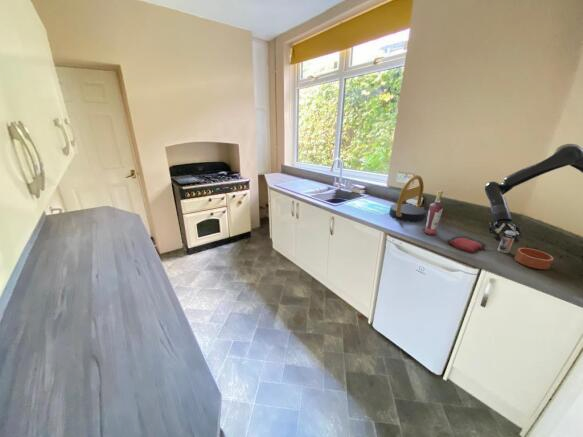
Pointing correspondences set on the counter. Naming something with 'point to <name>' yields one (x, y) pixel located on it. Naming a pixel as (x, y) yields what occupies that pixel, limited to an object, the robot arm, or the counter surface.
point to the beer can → (506, 241)
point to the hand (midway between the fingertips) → (507, 241)
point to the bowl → (533, 258)
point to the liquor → (434, 215)
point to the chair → (409, 211)
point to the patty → (466, 245)
